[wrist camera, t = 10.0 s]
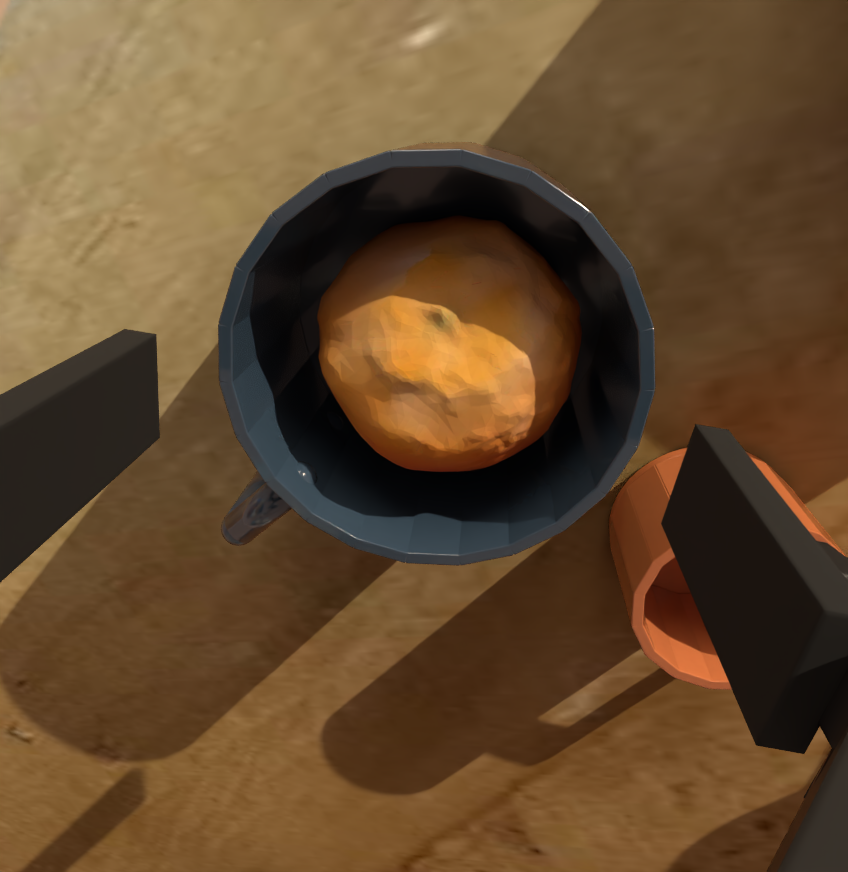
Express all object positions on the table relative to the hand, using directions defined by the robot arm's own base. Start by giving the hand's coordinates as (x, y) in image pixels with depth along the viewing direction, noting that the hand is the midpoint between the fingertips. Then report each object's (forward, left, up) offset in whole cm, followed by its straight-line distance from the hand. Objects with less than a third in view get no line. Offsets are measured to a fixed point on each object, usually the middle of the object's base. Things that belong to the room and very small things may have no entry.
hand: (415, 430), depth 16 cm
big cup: (-2, 0, -10) cm, 10 cm away
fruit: (0, 0, -10) cm, 10 cm away
